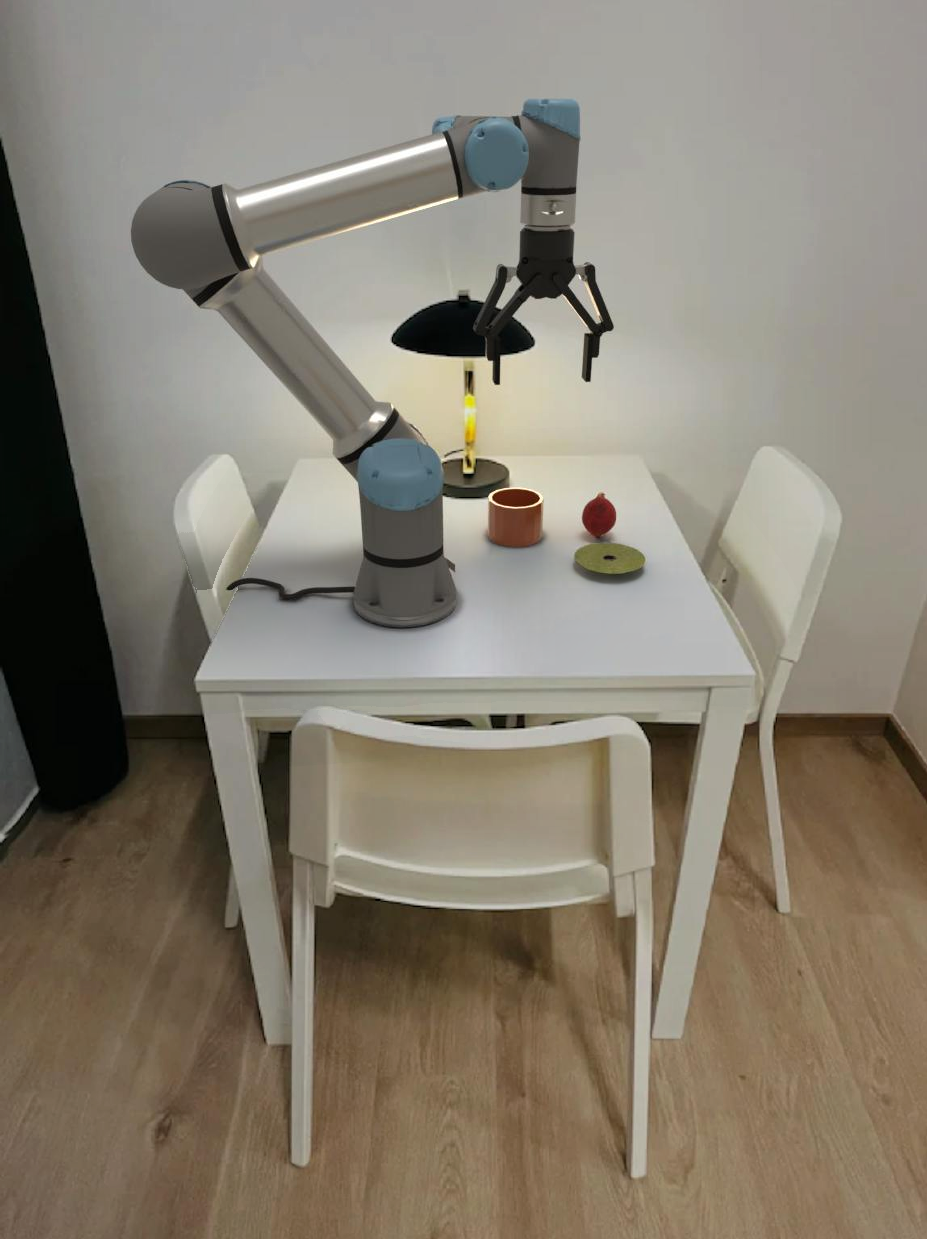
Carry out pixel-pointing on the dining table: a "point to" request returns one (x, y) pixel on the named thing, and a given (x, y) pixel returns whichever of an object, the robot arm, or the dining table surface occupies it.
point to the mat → (609, 558)
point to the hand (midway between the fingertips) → (541, 381)
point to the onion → (599, 515)
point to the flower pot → (515, 517)
